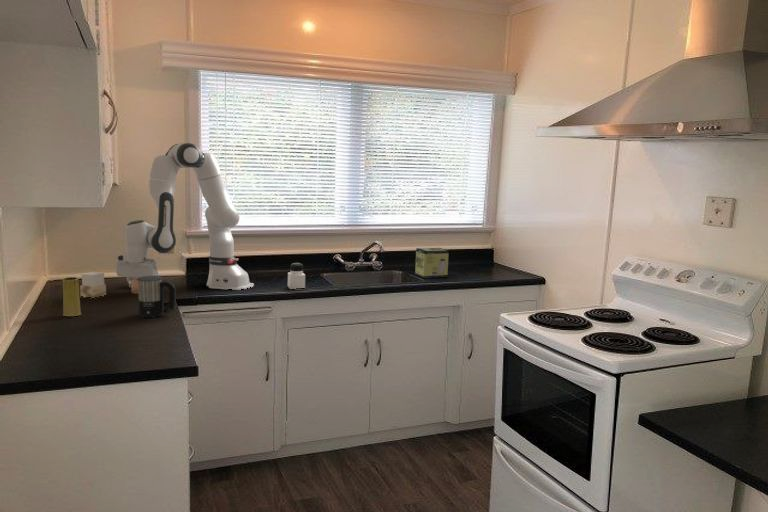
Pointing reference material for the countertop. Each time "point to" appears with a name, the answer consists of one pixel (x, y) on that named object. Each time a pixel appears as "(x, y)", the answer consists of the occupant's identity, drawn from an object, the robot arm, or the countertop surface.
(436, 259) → the protein box
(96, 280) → the tower top
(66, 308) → the vase
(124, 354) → the countertop surface
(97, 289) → the tower base
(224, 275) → the robot arm
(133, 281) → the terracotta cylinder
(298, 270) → the medicine bottle
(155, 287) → the milk frother
